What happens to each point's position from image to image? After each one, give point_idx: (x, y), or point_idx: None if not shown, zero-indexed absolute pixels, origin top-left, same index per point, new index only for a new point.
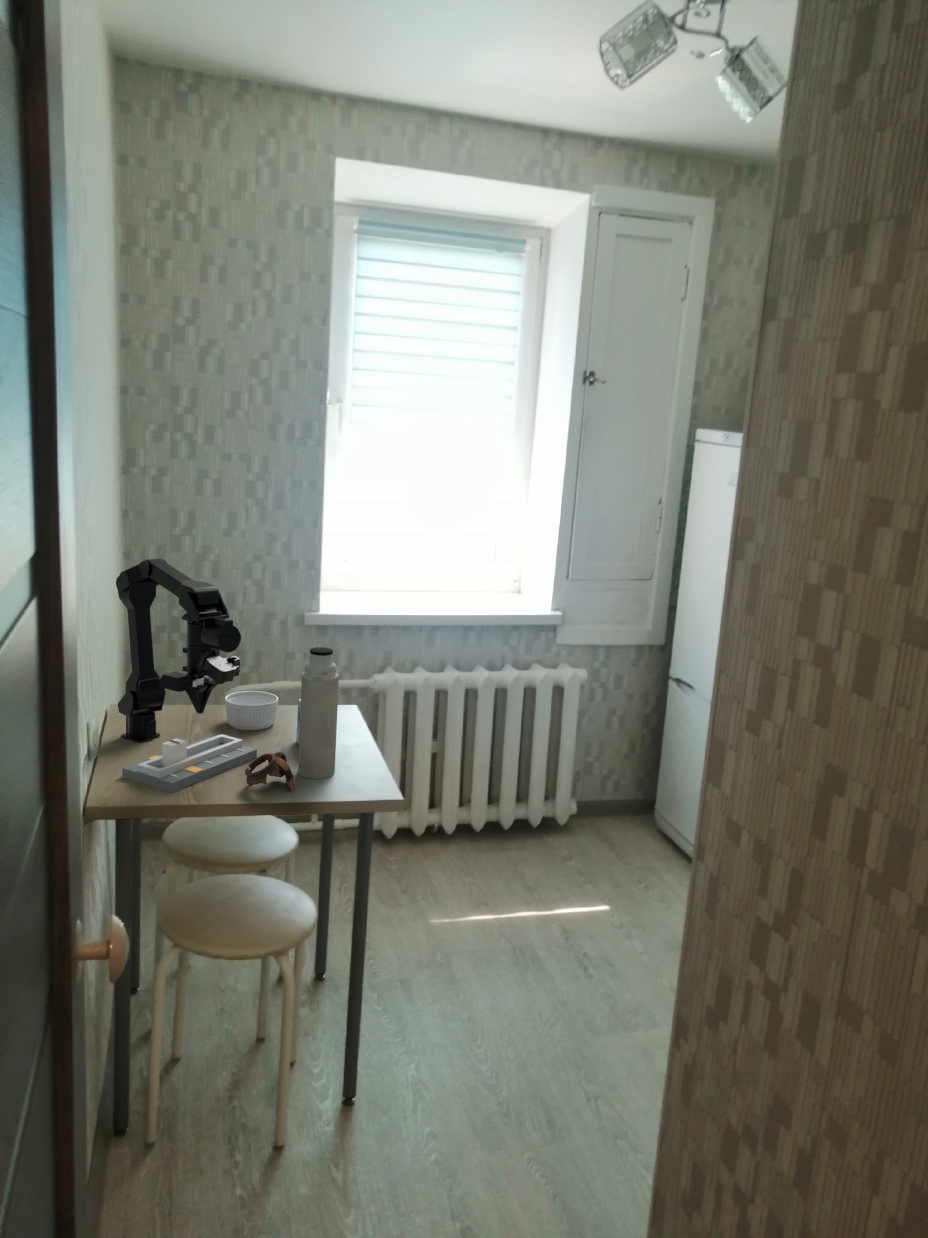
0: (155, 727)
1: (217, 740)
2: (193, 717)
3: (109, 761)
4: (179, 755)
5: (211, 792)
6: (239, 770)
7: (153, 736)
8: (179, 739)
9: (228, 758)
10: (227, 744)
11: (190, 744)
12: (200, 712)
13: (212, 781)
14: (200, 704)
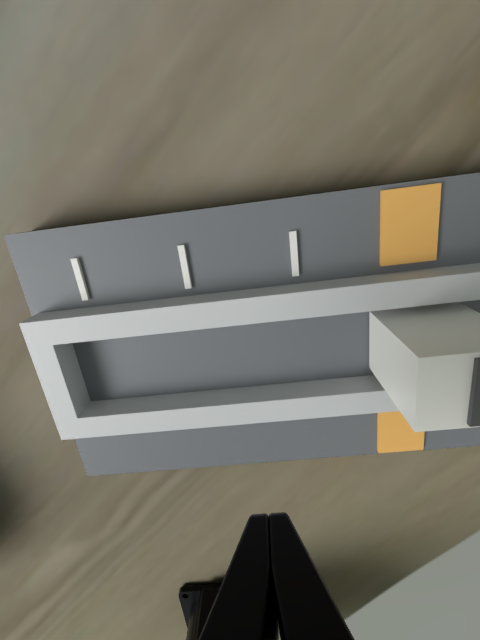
0: (201, 622)
1: (108, 409)
2: (9, 629)
3: (431, 532)
4: (440, 324)
5: (472, 15)
6: (182, 161)
7: (213, 589)
8: (420, 406)
9: (188, 231)
10: (118, 325)
11: (199, 460)
12: (291, 521)
13: (359, 139)
14: (332, 619)
